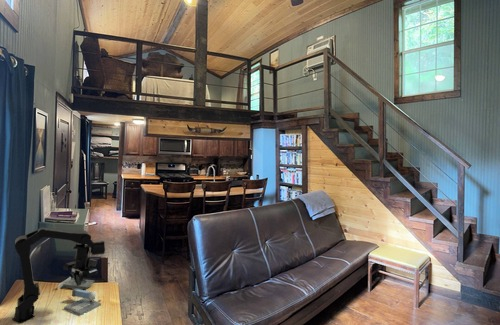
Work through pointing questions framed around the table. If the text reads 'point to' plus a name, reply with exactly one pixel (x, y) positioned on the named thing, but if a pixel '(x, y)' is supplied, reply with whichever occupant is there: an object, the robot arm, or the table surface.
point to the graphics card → (72, 284)
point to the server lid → (82, 306)
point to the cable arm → (83, 294)
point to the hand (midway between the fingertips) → (78, 285)
